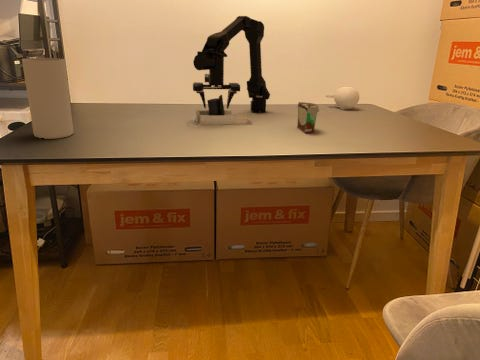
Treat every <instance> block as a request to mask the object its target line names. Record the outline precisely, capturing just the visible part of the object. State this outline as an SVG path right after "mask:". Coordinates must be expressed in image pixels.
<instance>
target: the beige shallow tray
mask: <svg viewBox="0 0 480 360" xmlns="http://www.w3.org/2000/svg"><path fill="white" fill-rule="evenodd" d="M195 111H196V112H195V115H196V116H195V117H196V118H195V120H196V124H197V126H198V125H201V126H202V125H203V126H204V125H205V126H206V125H209V126H210V125H216V126H217V125H221V126H222V125H253V122H252V120H250V119H249V117H248V116H236V114H232V113H233V110H232V109H224V113H225V115H209V109H196V110H195Z"/></svg>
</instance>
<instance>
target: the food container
mask: <svg viewBox="0 0 480 360" xmlns="http://www.w3.org/2000/svg"><path fill="white" fill-rule="evenodd" d="M318 112H320V107H319V105H318V104H316V103H314V102H313V103H312V102H305V101H303V102H302V101H301V102H299V101H298V104H297V125H296V128H297V129H298V130H299V131H300V132H302V133H304V134H313V133H314V132H315V127H316V120H317V116H318Z"/></svg>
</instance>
